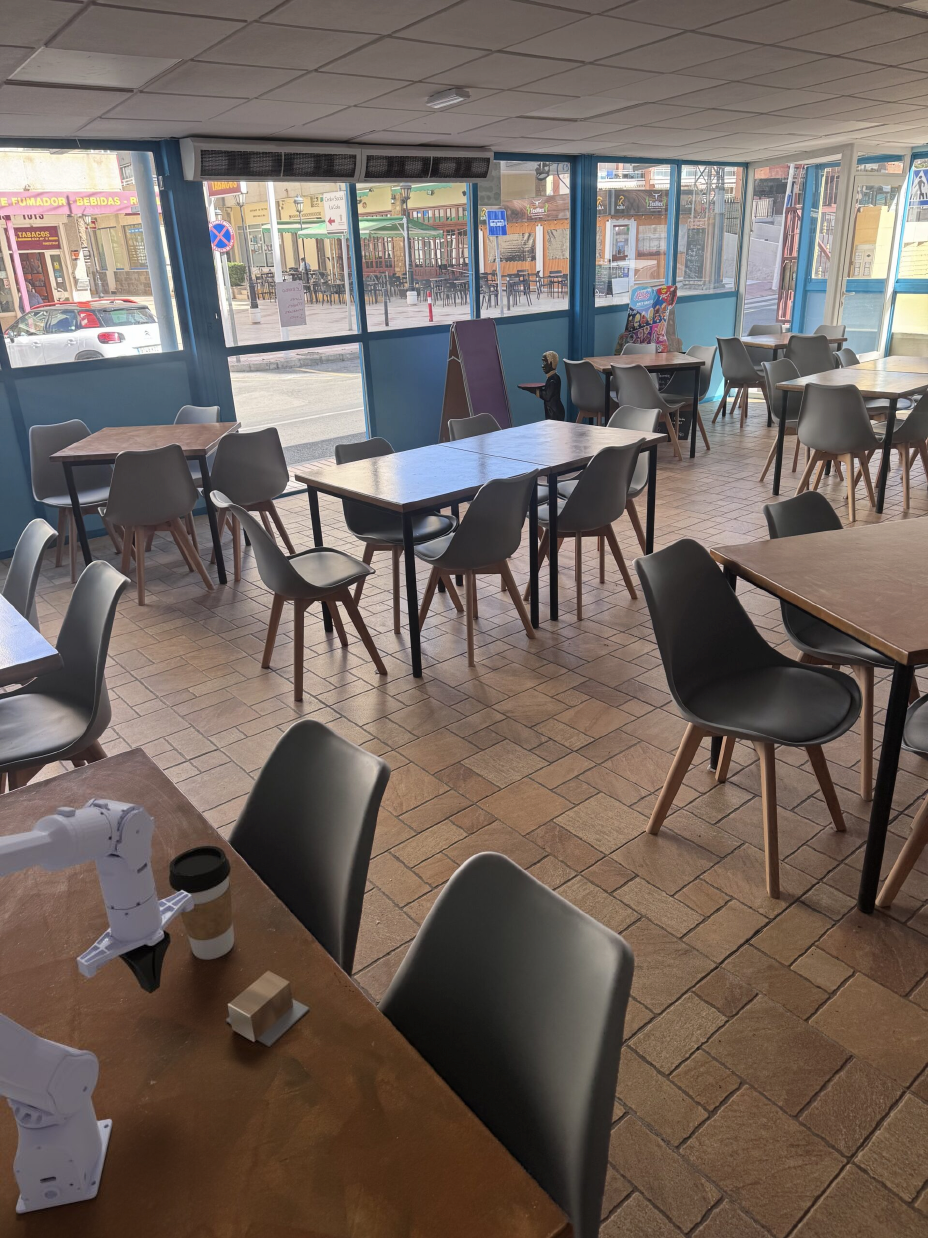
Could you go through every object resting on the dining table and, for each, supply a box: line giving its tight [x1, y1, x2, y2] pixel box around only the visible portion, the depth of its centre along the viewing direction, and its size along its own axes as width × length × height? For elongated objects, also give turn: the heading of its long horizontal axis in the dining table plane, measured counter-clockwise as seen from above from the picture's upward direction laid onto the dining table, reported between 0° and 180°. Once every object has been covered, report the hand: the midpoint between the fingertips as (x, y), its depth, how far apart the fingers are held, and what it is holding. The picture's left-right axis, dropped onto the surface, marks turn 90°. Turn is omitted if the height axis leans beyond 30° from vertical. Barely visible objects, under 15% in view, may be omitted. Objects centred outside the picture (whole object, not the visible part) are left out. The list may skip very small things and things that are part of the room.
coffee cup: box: [168, 845, 235, 960], centre depth 126 cm, size 8×8×15 cm
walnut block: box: [227, 970, 293, 1043], centre depth 113 cm, size 4×4×7 cm
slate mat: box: [225, 998, 310, 1048], centre depth 115 cm, size 7×8×1 cm
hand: (150, 987), depth 107 cm, fingers closed
